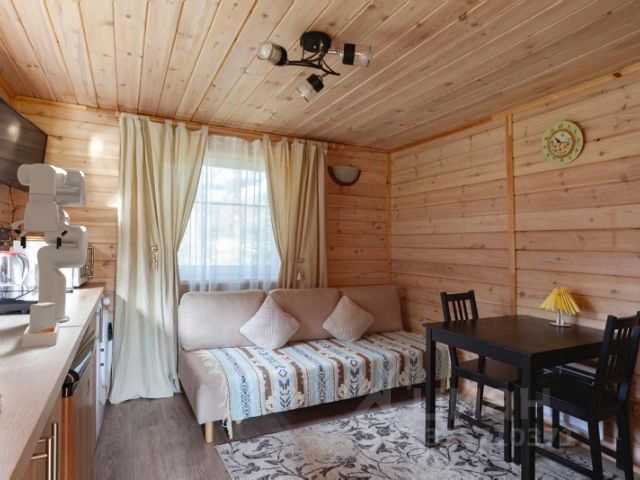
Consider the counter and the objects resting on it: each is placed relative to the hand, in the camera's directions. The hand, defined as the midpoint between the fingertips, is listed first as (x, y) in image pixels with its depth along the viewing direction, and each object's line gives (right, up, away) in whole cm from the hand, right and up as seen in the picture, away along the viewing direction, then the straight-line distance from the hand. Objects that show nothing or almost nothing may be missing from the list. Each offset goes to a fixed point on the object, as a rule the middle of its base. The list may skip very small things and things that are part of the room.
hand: (41, 248), depth 138 cm
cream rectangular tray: (+3, -31, -4) cm, 32 cm away
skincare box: (+5, -31, -7) cm, 32 cm away
